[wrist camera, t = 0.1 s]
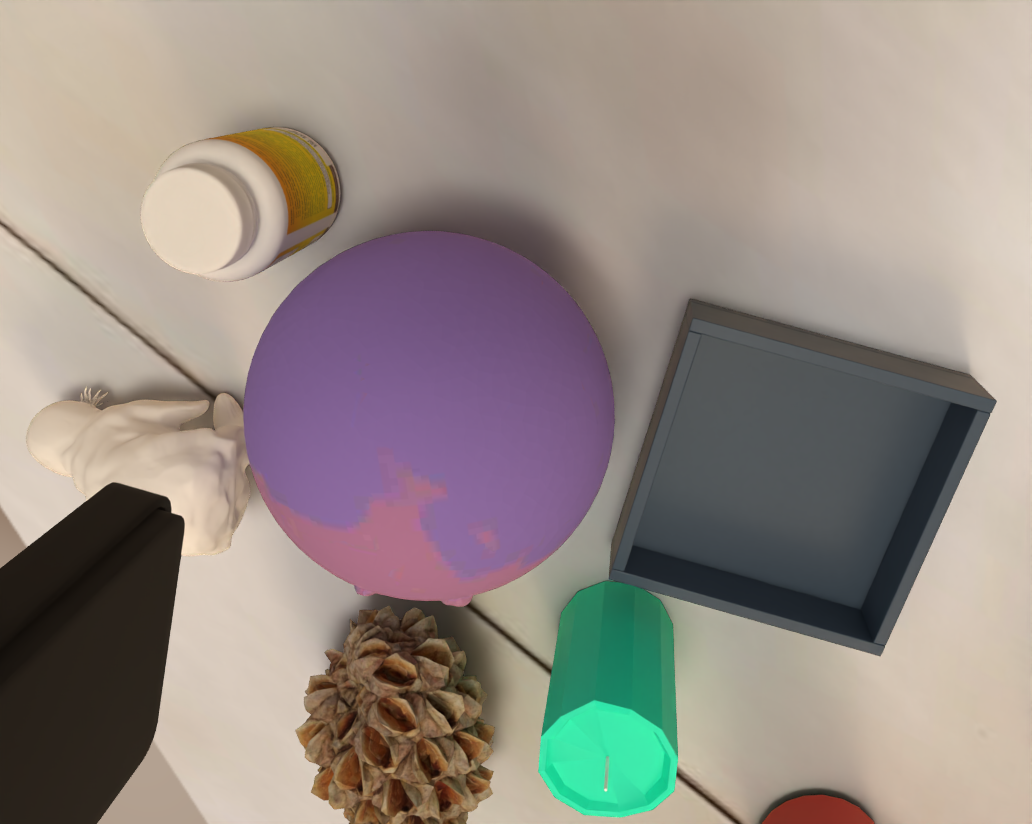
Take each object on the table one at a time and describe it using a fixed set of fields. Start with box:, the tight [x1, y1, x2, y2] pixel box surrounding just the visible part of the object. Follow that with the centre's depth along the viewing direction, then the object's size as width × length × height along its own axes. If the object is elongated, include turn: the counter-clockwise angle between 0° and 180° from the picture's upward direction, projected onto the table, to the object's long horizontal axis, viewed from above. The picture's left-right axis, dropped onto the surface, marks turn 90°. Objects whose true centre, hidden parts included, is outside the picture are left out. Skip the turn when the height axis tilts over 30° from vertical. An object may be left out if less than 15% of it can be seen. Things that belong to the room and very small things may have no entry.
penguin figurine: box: [26, 387, 250, 556], centre depth 47 cm, size 6×8×12 cm
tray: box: [609, 299, 997, 656], centre depth 46 cm, size 13×13×4 cm
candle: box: [538, 581, 678, 817], centre depth 46 cm, size 6×6×12 cm
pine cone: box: [295, 606, 495, 824], centre depth 51 cm, size 22×10×10 cm, turn 6°
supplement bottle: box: [141, 127, 340, 282], centre depth 41 cm, size 6×6×10 cm
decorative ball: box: [243, 231, 615, 607], centre depth 41 cm, size 15×15×15 cm
